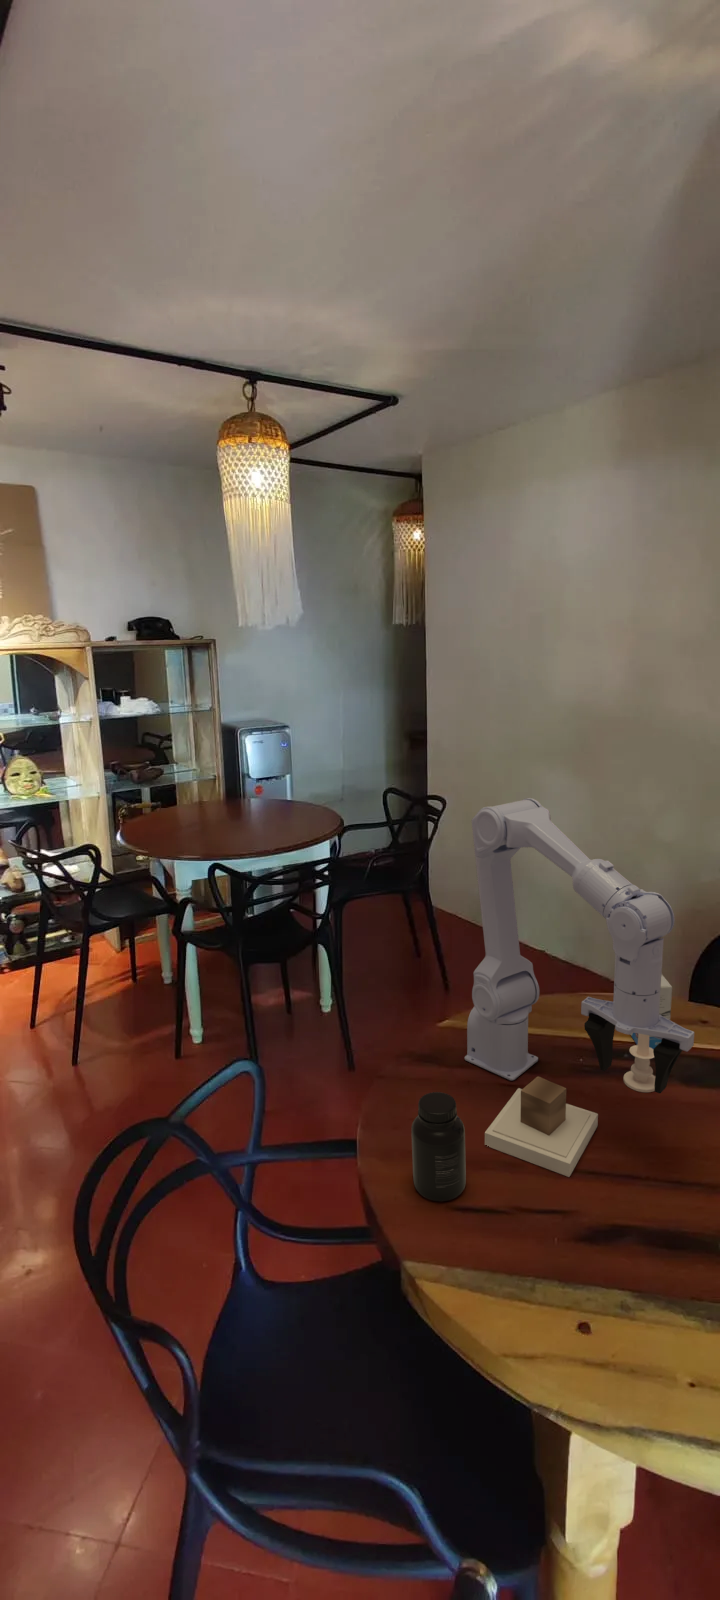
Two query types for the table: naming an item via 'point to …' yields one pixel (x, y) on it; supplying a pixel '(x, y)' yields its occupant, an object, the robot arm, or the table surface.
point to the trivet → (542, 1137)
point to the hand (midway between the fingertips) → (632, 1078)
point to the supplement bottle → (438, 1148)
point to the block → (543, 1105)
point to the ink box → (660, 1010)
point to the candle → (641, 1067)
